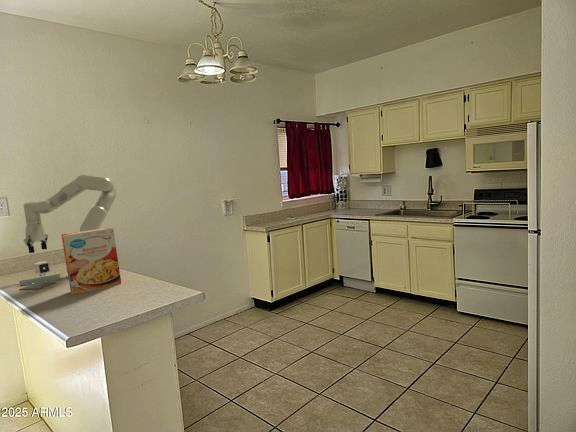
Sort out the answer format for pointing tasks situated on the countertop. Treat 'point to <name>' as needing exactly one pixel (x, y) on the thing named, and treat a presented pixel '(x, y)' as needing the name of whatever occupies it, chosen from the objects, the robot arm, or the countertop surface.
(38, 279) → the low wall
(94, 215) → the robot arm
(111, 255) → the pasta box
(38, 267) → the security camera
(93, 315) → the countertop surface
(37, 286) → the mat
